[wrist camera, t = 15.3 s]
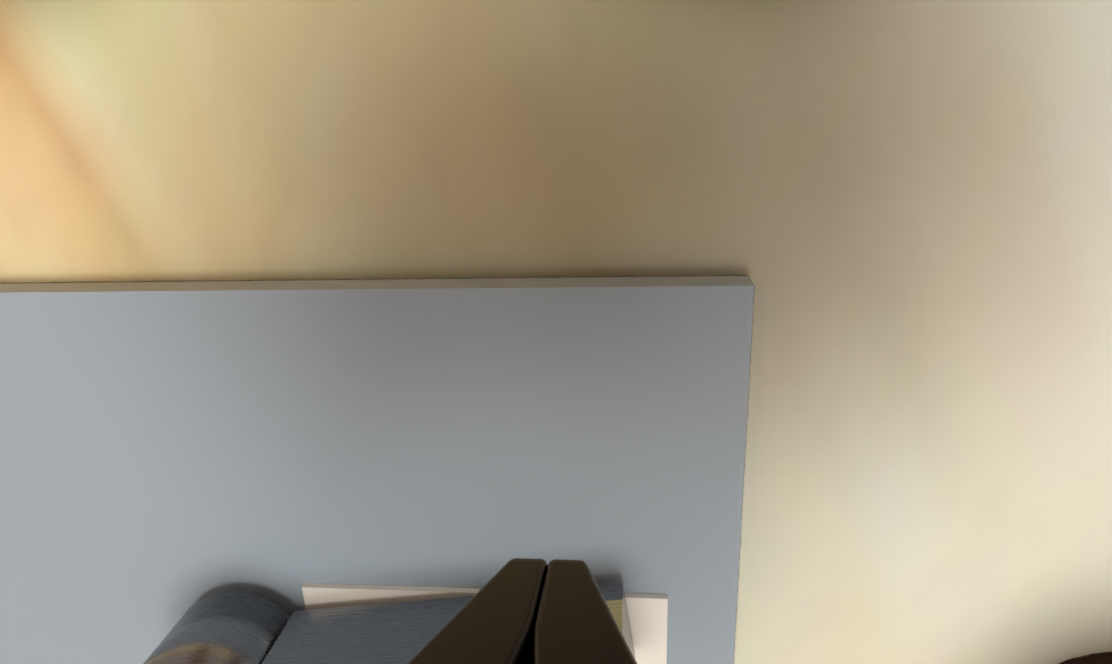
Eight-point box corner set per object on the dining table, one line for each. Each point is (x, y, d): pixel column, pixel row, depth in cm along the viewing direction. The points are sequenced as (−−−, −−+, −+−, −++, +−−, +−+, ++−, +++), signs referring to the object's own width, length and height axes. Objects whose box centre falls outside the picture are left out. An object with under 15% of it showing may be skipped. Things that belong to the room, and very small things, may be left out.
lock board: (-271, 286, 22) (-320, 297, 21) (747, 275, 19) (755, 287, 18) (-66, 782, 28) (-94, 811, 27) (719, 831, 26) (723, 866, 24)
